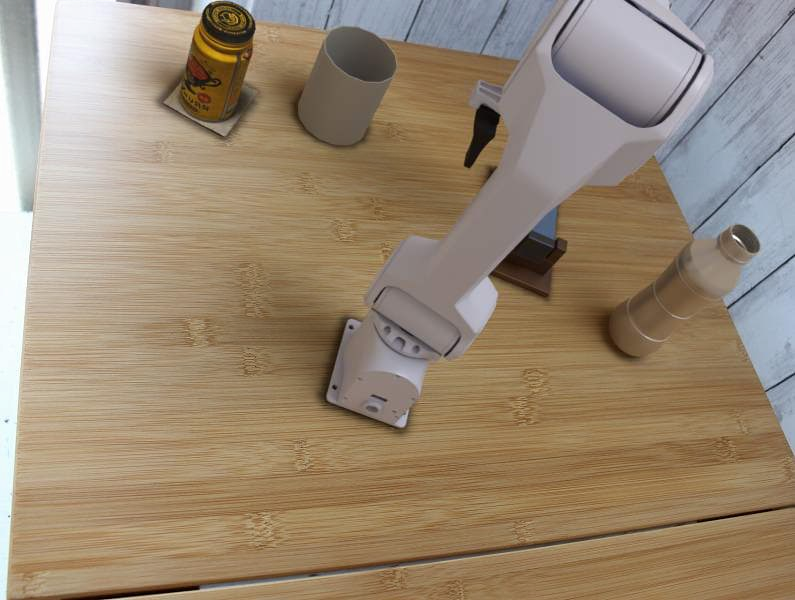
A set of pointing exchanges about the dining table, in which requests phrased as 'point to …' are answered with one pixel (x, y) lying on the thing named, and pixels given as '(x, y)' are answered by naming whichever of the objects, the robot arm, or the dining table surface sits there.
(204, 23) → the condiment
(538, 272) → the holder
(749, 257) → the plastic bottle
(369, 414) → the robot arm
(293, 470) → the dining table surface
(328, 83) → the cup
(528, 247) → the handle
